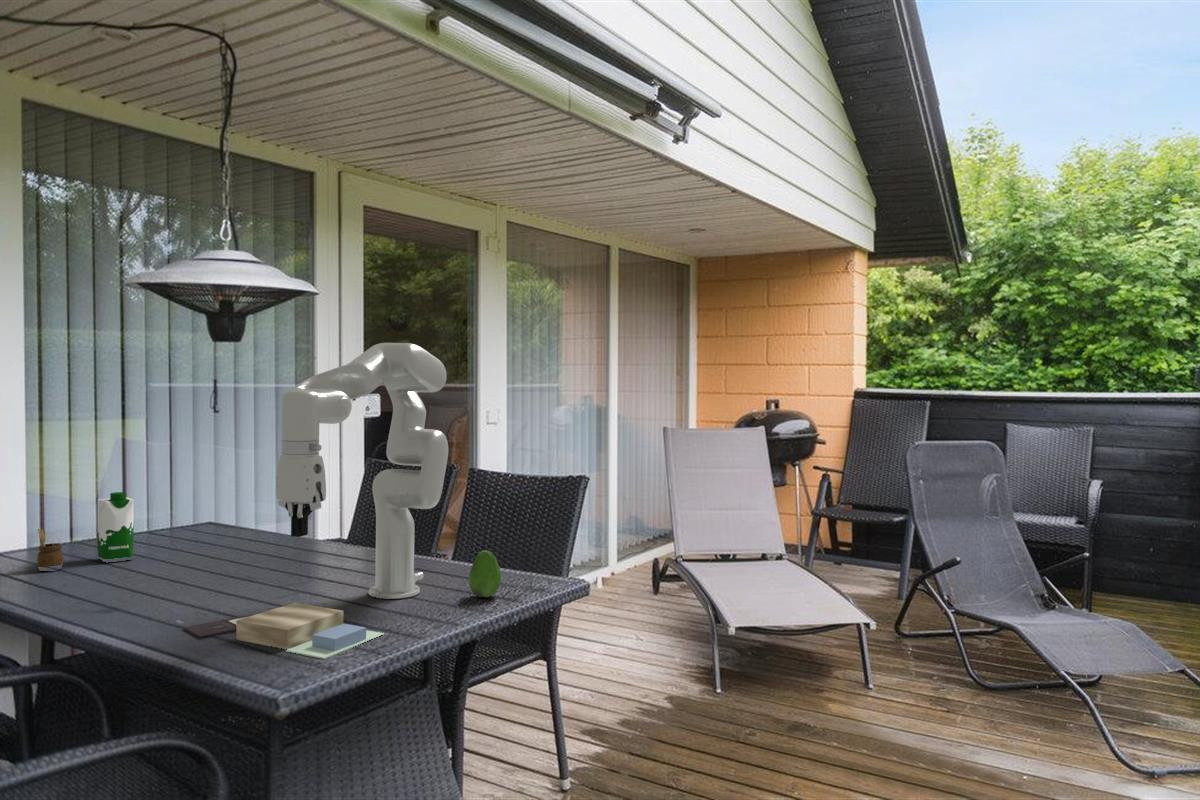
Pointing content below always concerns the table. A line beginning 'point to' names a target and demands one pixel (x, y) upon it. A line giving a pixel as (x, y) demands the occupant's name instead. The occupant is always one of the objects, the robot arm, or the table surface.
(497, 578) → the avocado
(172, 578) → the table surface
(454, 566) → the table surface
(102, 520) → the milk carton
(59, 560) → the utensil holder
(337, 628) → the blue-grey foam block
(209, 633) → the chocolate bar
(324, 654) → the mat
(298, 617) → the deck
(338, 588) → the table surface
